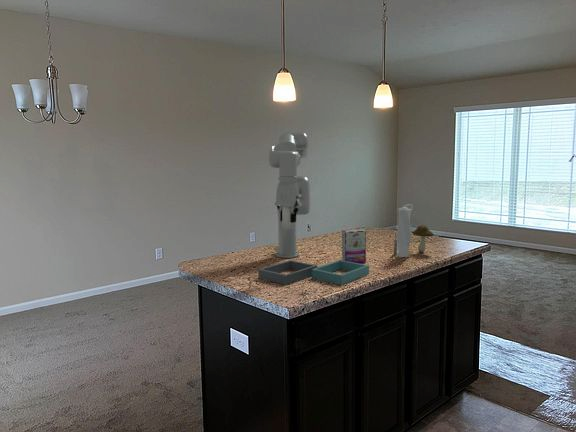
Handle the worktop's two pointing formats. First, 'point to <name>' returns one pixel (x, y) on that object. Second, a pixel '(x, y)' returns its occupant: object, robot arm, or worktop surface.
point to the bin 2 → (326, 275)
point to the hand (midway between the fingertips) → (288, 221)
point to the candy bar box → (354, 246)
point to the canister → (286, 218)
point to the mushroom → (422, 236)
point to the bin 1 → (274, 271)
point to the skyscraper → (403, 233)
